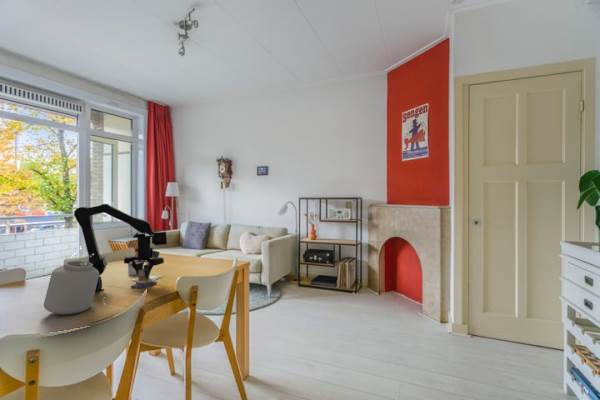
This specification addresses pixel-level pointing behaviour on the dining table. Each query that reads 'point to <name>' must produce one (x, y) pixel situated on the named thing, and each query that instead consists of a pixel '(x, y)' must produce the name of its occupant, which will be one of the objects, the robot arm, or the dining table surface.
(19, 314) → the dining table surface
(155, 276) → the mat
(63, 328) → the dining table surface
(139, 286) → the ink pad
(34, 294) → the dining table surface
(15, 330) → the dining table surface
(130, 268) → the medicine box
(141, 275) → the stamp
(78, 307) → the jar
